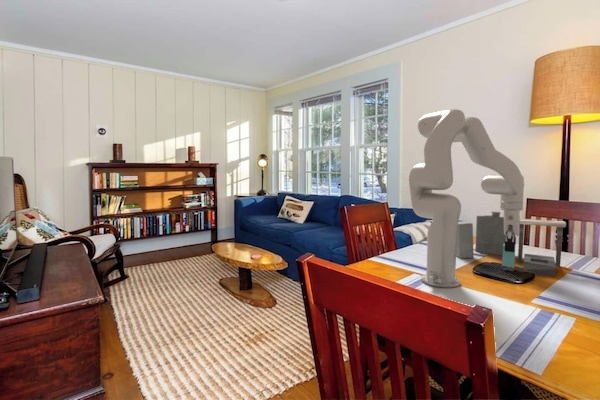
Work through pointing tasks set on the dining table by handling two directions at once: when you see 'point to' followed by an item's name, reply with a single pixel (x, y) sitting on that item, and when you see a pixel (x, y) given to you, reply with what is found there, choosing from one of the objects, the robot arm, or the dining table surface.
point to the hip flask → (490, 234)
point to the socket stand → (539, 262)
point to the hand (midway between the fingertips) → (510, 248)
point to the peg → (508, 258)
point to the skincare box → (464, 240)
